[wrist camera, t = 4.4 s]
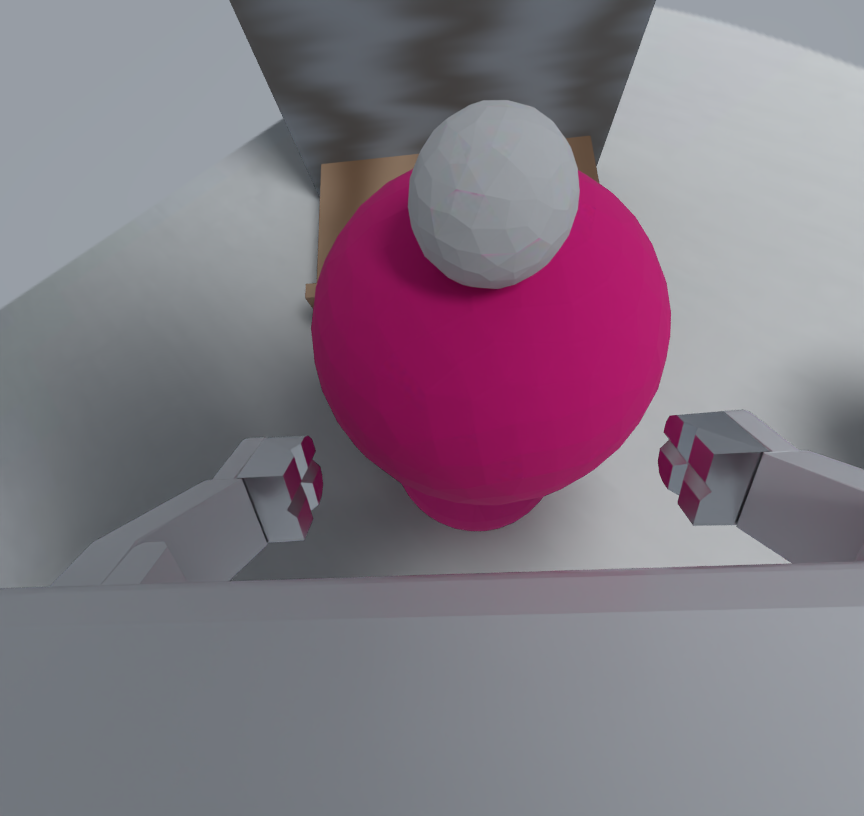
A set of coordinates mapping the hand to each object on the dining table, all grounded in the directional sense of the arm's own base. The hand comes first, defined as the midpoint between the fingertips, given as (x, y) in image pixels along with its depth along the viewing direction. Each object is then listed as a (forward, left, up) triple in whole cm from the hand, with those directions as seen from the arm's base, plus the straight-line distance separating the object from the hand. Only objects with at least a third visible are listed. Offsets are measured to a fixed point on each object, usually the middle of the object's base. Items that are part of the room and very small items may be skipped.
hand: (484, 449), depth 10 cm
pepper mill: (-1, +2, -13) cm, 13 cm away
